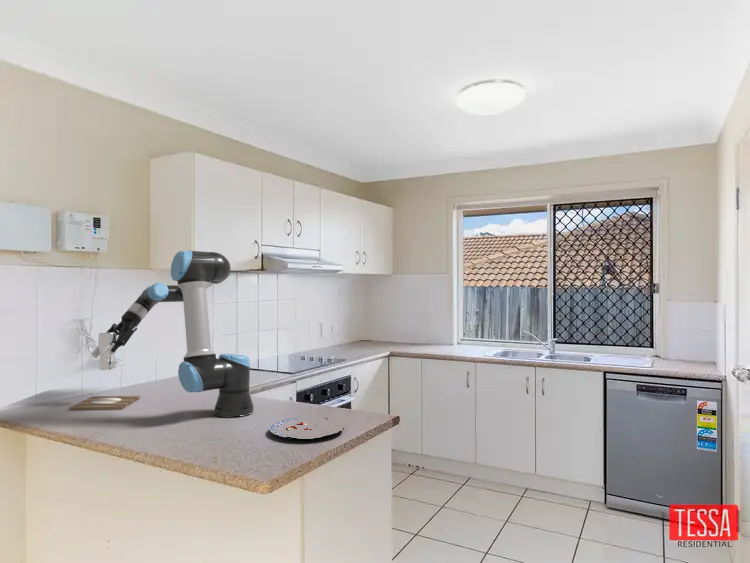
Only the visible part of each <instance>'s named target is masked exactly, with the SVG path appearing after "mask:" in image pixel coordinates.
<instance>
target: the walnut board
mask: <svg viewBox="0 0 750 563" xmlns="http://www.w3.org/2000/svg"><path fill="white" fill-rule="evenodd" d="M140 399H141V395H105V396H104V395H103V396H102V395H101V396H100V395H99V396H95V395H93V396H91V397H89V398H86V399H84V400H81V402H78V403H76V404H74V405H71V406H70V407H69V408H68V409H69V411H111V410H112V411H116V410H117V411H119V410H121V411H122V410H124V409H125V408H126V407H128V406H130V405H131V404H133V403H135V402H137V401H138V400H140Z"/></svg>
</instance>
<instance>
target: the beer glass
mask: <svg viewBox="0 0 750 563" xmlns="http://www.w3.org/2000/svg"><path fill="white" fill-rule="evenodd" d="M117 338H118V335H117V336H116V333H106V332H100V333H98V338H97V339H98V340H97V342H98V344H97V346H98V348H99V354H100V355H99V358H100V359H99V361H100V362H99V368H98V369H99V370H100V371H108V370H109V371H110V370H115V369H116V364H115V363H116V362H115V360H116V359H115V356H116V353H117V350H116V351H115V352H114V353H113V354H112V356H111V357H110V358H109V359H106V358H105V357H104V356H103V355H104V353H105V352H106V351H107V350H108V349H109V347H110V346H111V345H112V344H113V343H115V342H114V341H116V340H117ZM115 344H116V343H115Z"/></svg>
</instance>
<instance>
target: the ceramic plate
mask: <svg viewBox="0 0 750 563" xmlns="http://www.w3.org/2000/svg"><path fill="white" fill-rule="evenodd" d="M303 417H304V416H300V417H292V418H286V419H283V420H278V421H276V422H274V423H273V424H271V425H270V426H269V431H270V433H271V434H273V435H275V436H277V435H278V437H282V438H286V437H291V436H288V435H284V434H282V433H279V432H278V431H277V428H278V427H279V426H280V425H282V424H284V423H287V422H289V421H291V420H296V419H300V418H303ZM296 425H307V424H306V423H304V422H301V423H298V424H296ZM316 426H317V425H316ZM292 429H298V428H297V427H295V426H291V427H288V428H286V430H287V431H289V430H292ZM304 430H308V428H306V429H304ZM309 430H312V429H309Z"/></svg>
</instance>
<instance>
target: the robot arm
mask: <svg viewBox="0 0 750 563" xmlns="http://www.w3.org/2000/svg"><path fill="white" fill-rule="evenodd" d="M231 268H232V267H231V264H230V262H229V260H228V259H227V257H226V256H225V255H223V254H221V253H219V252H216V251H198V250H180V251H178V252H176V254H175V255H174V256H173V258H172V261H171V265H170V277H171V279H172V281H176V282H177V284H176V285H175V284H174V285H170V284H169V285H167V284H164V283H162V282H156V283H153V284H152V285H150V286H147V287H146V288H145V289H144V290H143V291H142V293H140V294H139V296H138V297H137V299H135V301H134V302H133V303H132V304H131V305H130V306H129V307H128V309H127V310H126V311H125V312H124V314H123V315H122V316H121V321H120V322H119V323H118V324H117V323H113V324H112V325H111V327H110V328H109V329H108V330H107V331H106V332H105V333H116V336H117V340H116V341H114V342H115V343H116V344H115V343H113V344H112V345H111V346H110V347H109V349H108V350H107V351H106V352H105V353H104V355H103V356H104V357H105V358H106V359H109V358H110V357H111V356H112V354H113V353H114V352H115V351H116V352H117V350H118V349H119V348H120V347H125V345H126V344H127V343H128V341H129V340H130V339H131V337H132V336H133V334H134V333H135V332H136V331H137V330H138V326H139V325H140V323H141V322H142V320H143V319H145V317H146V315H147V314H149V312H150V311H151V310H152V309H153V307H154V306H155V305H157V304H158V303H174V302H175V303H183V316H184V325H185V336H186V337H185V339H186V349H187V351H186V354H184V356H183V361H182V362H180V364H179V365H178V369H177V370H178V371H177V375H178V380H179V383H180V385H181V387H182V388H183V389H184V391H185V392H188V393H202V392H207V391H213V390H218V395H217V399H216V402H215V405H214V409H213V414H215V415H214V416H215V417H219V416H223V417H222V418H229V417H228V416H240V415H246V414H249V413H252V412H253V411H255V409H254V403H253V400H252V396H251V394H250V393H251V392H250V377H251V376H250V374H251V373H250V372H251V365H250V362H251V361H250V358H249V357H248V356H247V355H244V354H243V355H242V354H236V353H235V354H234V353H219V356H218V357H217V355H216V354H217V353H216V352H215V351H213V350H212V346H211V332H210V320H209V319H210V318H209V311H208V310H209V309H208V308H209V307H208V300H207V299H208V298H207V289H208V288H210V287H211V286H213V285H215V284H217V285H218V284H221V283H223V282H224V281H226V280H227V278H229V276H230V274H231ZM90 355H91V356H93V357H94V358H95V359H97V358H98V357H100V354H99V348H98V345H96V347H95V349H94V350H93V351H92V352H91V354H90ZM253 413H254V412H253ZM253 413H252V414H253ZM246 416H247V415H246Z"/></svg>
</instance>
